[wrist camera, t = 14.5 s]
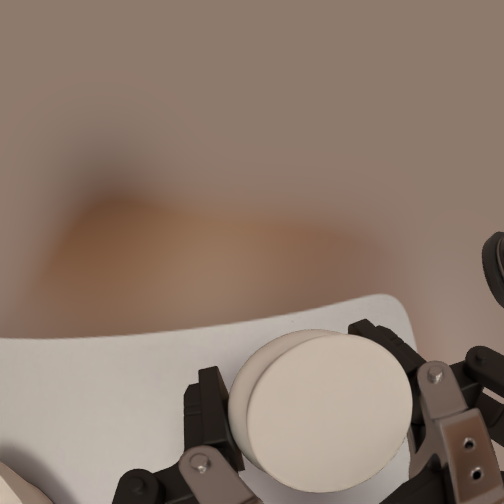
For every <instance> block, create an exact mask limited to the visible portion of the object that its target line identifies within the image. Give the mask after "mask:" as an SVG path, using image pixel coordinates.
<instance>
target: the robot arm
mask: <svg viewBox="0 0 504 504" xmlns="http://www.w3.org/2000/svg"><path fill="white" fill-rule="evenodd" d="M495 256H496V262H497V267H498V270H499V273H500V275H501V278H502V280H503V282H504V237H502V238H501V239H500V240H499V241H498V242H497V244H496V249H495ZM348 334H350V335H356V336H360V337H364V338H367V339H369V340H372V341H374V342H375V343H377V344H379V345H381V346H382V347H384V348H385V349H386V350H388V351H389V352H390V353H391V354H392V355H393V356H394V357H395V358H396V359H397V361H398V362H399V363H400V365H401V366H402V368H403V370H404V371H405V374H406V376H407V378H408V381H409V384H410V388H411V393H412V415H411V422H410V426H409V429H408V432H407V439H408V445H409V451H410V465H409V480H408V481H406V482H405V483H403V484H402V485H401V486H399V487H398V488H397V489H396V490H395V491H394V492H393V493H391V494H390V495H389V496H388V497H387V498H386V499H384V500H383V501H382V502H381V503H379V504H504V471H500V469H499V465H498V462H497V458H496V455H495V451H494V448H493V445H492V442H491V439H492V440H494V441H495V442H497V443H498V444H500V445H501V446H503V447H504V404H501V403H499V402H498V401H496V400H494V399H493V398H491V397H489V396H488V395H486V394H484V393H483V392H482V391H483V389H484V387H486V388H488V389H489V390H491V391H493V392H494V393H496V394H498V395H499V396H501V397H503V398H504V356H503V355H501V354H500V353H497V352H496V351H493V350H492V349H490V348H488V347H485V346H475V347H473V348H471V349H470V350H469V351H468V352H467V354H466V357H465V360H464V361H461V362H459V363H456V364H452V365H449V366H448V365H447V364H445V363H444V362H441V361H429V362H426V361H425V360H424V359H423V358H422V357H421V356H420V355H419V354H418V353H416V352H415V351H414V350H413V349H412V348H411V347H410V346H409V345H407V344H406V343H404V341H403V340H402V339H401V338H398V336H397V335H396V334H395V333H394V332H393V331H391V330H390V329H388V328H385V327H383V326H380V325H379V326H377V327H375V326H374V325H373V324H372V323H371V322H370V321H369V320H367V319H363V320H360V321H358V322H355V323H353V324H350V325H349V326H348ZM198 375H199V383H196V384H191V385H189V386H188V388H187V390H186V392H185V394H184V453H183V454H182V456H181V457H180V460H179V461H178V462H177V463H176V464H174V465H173V466H171V467H169V468H166V469H164V470H161V471H158V472H155V473H151V472H149V471H147V470H144V469H133V470H130V471H128V472H126V473H125V474H124V475H123V476H122V477H121V478H120V480H119V483H118V486H117V489H116V492H115V495H114V498H113V502H112V504H265V503H264V502H263V501H262V500H261V499H260V498H258V497H257V496H256V495H255V494H254V493H253V492H252V491H251V489H250V488H249V487H248V486H247V485H246V484H245V483H244V481H243V480H242V479H241V478H240V477H239V474H238V471H243V470H245V467H244V462H243V458H242V454H241V451H240V449H239V448H238V446H237V444H236V442H235V440H234V438H233V436H232V433H231V430H230V426H229V420H228V401H229V394H228V391H227V389H226V386H225V384H224V381H223V379H222V376H221V374H220V371H219V369H218V367H217V366H214V367H209V368H205V369H200V370H199V371H198ZM490 438H491V439H490Z"/></svg>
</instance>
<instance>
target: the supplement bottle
mask: <svg viewBox="0 0 504 504" xmlns="http://www.w3.org/2000/svg"><path fill="white" fill-rule="evenodd" d="M411 415H412V393H411V388H410V384H409V381H408V378H407V376H406V374H405V371H404V370H403V368H402V366H401V365H400V363H399V362H398V361H397V359H396V358H395V357H394V356H393V355H392V354H391V353H390V352H389V351H388V350H386V349H385V348H384V347H382V346H381V345H379V344H377V343H375V342H374V341H372V340H369V339H367V338H364V337H360V336H356V335H350V334H341V333H338V332H334V331H328V330H319V329H311V330H302V331H296V332H292V333H289V334H286V335H283V336H281V337H278V338H276V339H274V340H272V341H271V342H269V343H267V344H266V345H264V346H263V347H261V348H260V349H259V350H257V351H256V352H255V353H254V354H253V355H252V356H251V357H250V358H249V359H248V360H247V361H246V362H245V364H244V365H243V366H242V368H241V369H240V371H239V373H238V374H237V376H236V378H235V380H234V383H233V385H232V388H231V391H230V396H229V401H228V420H229V426H230V430H231V433H232V436H233V438H234V440H235V442H236V444H237V446H238V448H239V449H240V451H241V452H242V453H243V455H244V456H245V457H246V458H247V459H248V460H249V461H250V462H251V463H252V464H254V465H255V466H256V467H258V468H259V469H261V470H262V471H264V472H266V473H268V474H269V475H270V476H272V477H273V478H274V479H276V480H277V481H278V482H280V483H282V484H284V485H286V486H288V487H290V488H293V489H296V490H300V491H305V492H312V493H329V492H336V491H341V490H345V489H348V488H351V487H354V486H356V485H358V484H360V483H362V482H364V481H366V480H368V479H370V478H371V477H373V476H374V475H375V474H377V473H378V472H379V471H380V470H382V469H383V468H384V467H385V466H386V465H387V464H388V463H389V462H390V461H391V459H392V458H393V457H394V456H395V454H396V453H397V451H398V450H399V448H400V447H401V445H402V443H403V441H404V439H405V437H406V434H407V432H408V429H409V426H410V422H411Z"/></svg>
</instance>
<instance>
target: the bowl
mask: <svg viewBox="0 0 504 504" xmlns="http://www.w3.org/2000/svg"><path fill="white" fill-rule="evenodd" d="M0 504H53V503H52V501H51V500H50V499H49V498H48V497H47V496H46V495H45V494H44V493H43V492H42V491H40V490H39V489H38V488H37V487H35V486H33V485H32V484H30V483H28V482H26V481H25V480H24V479H22V478H21V477H20V476H19V475H18V474H17V473H15V472H14V471H13V470H11V469H10V468H8V467H7V466H6V465H4V464H3V463H2V462H0Z"/></svg>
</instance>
